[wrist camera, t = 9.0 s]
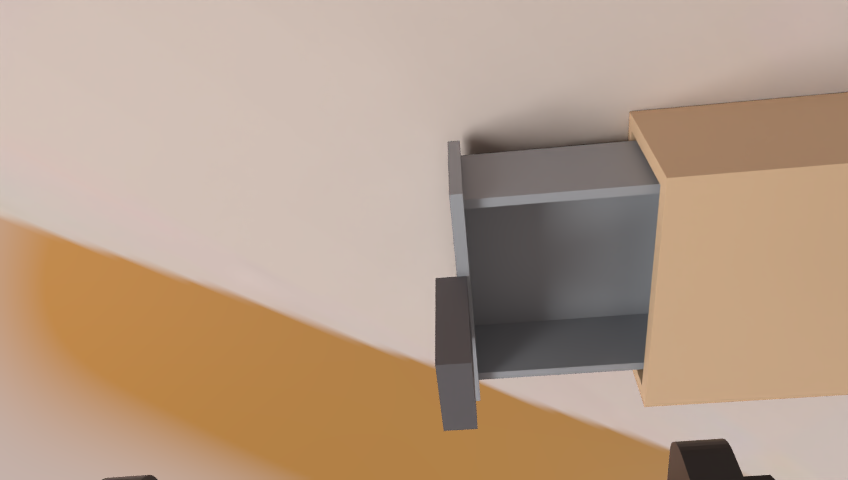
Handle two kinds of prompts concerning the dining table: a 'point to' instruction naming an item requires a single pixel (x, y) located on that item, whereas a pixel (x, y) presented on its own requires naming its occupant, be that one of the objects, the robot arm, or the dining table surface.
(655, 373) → the mailer sleeve
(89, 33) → the dining table surface
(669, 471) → the robot arm
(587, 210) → the tray
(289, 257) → the dining table surface
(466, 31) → the dining table surface
